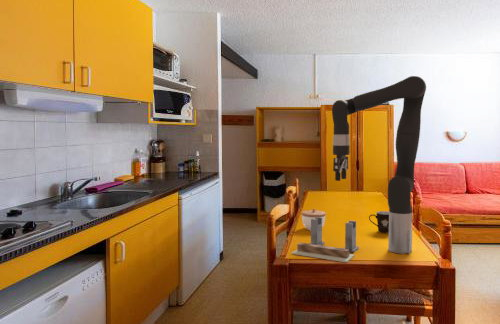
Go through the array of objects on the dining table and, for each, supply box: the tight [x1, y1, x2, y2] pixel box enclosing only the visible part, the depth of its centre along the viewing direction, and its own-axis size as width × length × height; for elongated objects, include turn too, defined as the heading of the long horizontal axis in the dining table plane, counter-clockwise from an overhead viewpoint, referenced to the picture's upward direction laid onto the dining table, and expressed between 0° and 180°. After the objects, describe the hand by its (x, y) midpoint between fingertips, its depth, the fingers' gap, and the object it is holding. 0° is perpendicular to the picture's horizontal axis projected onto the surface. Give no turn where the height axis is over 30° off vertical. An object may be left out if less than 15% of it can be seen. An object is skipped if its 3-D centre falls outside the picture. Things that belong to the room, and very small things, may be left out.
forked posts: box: [309, 217, 360, 254], centre depth 187 cm, size 21×8×12 cm, turn 60°
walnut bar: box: [296, 242, 350, 258], centre depth 176 cm, size 22×3×3 cm, turn 60°
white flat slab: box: [291, 249, 355, 263], centre depth 176 cm, size 24×10×1 cm, turn 60°
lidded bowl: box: [301, 208, 327, 231], centre depth 223 cm, size 13×13×11 cm
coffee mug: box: [368, 210, 389, 234], centre depth 217 cm, size 12×9×10 cm
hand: (340, 179), depth 191 cm, fingers open, 8 cm apart
